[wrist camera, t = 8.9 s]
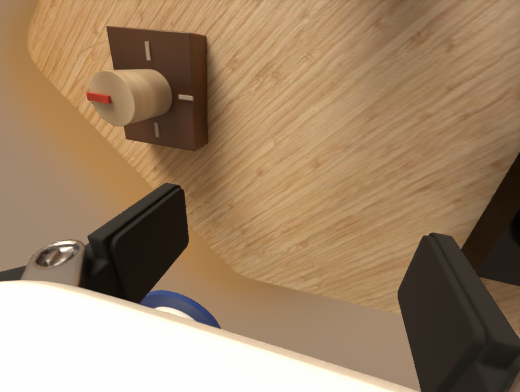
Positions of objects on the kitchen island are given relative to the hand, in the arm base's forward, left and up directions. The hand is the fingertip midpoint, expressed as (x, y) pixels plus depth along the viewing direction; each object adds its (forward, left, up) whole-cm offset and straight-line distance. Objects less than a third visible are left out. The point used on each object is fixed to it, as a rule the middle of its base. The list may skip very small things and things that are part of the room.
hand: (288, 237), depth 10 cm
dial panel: (+2, +15, -16) cm, 23 cm away
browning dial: (+3, +15, -13) cm, 21 cm away
